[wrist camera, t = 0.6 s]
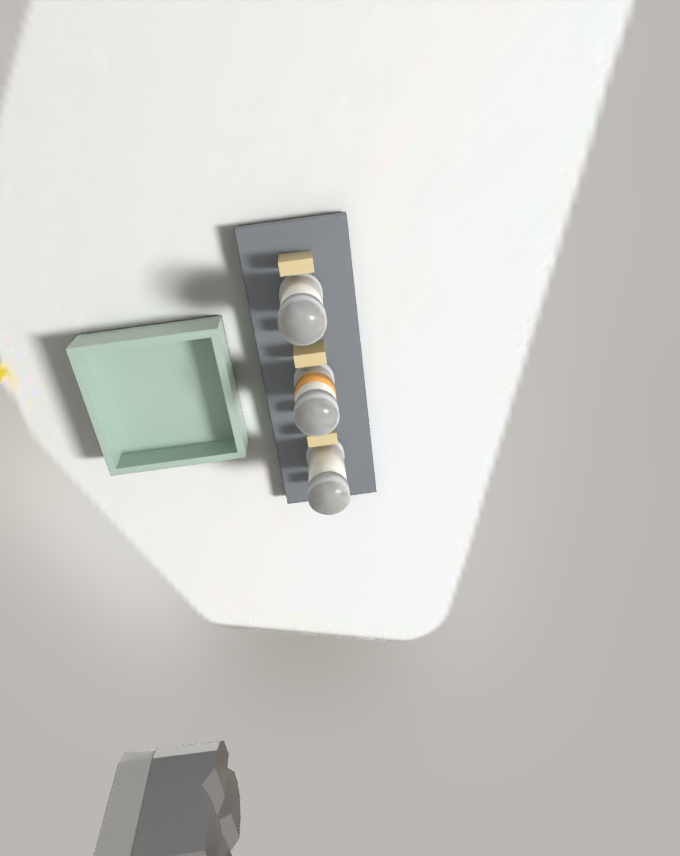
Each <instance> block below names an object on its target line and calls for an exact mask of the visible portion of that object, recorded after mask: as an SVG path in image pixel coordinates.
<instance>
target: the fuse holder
mask: <svg viewBox="0 0 680 856" xmlns="http://www.w3.org/2000/svg"><path fill="white" fill-rule="evenodd" d="M235 235H236V240H237V245H238V251H239V256H240V261H241V266H242V271H243V276H244V281H245V287H246V292H247V297H248V302H249V307H250V312H251V317H252V323H253V328H254V333H255V338H256V343H257V348H258V353H259V359H260V364H261V369H262V374H263V379H264V384H265V389H266V395H267V400H268V405H269V410H270V415H271V420H272V425H273V431H274V436H275V441H276V446H277V451H278V456H279V461H280V467H281V472H282V477H283V482H284V487H285V492H286V497H287V503H288V504H290V503H298V502H305V501H308V484H309V477H308V463H307V458H306V448H307V445H308V447H317V446H324V445H331V444H338V439H339V440H340V441H341V442H342V444H343V448H344V455H345V458H344V464H345V471H346V478H347V481H348V484H349V490H350V495H356V494H364V493H371V492H376V483H375V474H374V465H373V455H372V446H371V437H370V428H369V418H368V409H367V400H366V391H365V381H364V372H363V363H362V353H361V344H360V335H359V326H358V316H357V307H356V298H355V288H354V279H353V270H352V261H351V251H350V242H349V233H348V224H347V215H346V212H340V213H332V214H325V215H318V216H310V217H303V218H295V219H288V220H280V221H273V222H266V223H258V224H251V225H243V226H236V227H235ZM305 273H313V274H314V275H315V276H316V277H317V278H318V279H319V281H320V282H321V285H322V291H323V306H324V308H325V311H326V317H327V326H326V330H325V332H324V334H323V335H322V337H321V338H320V339H319V340H318V341H316V342H314V343H312V344H309V345H303V346H302V345H295V344H292V343H290V342H289V341H287V340H286V339H285V338H284V337H283V336H282V335H281V333H280V331H279V328H278V323H277V322H278V310H279V307H280V299H279V288H280V284H281V281H282V280H283V278H284V277H285V276H290V275H298V274H305ZM327 363H329V365H330V366H331V367H332V370H333V373H334V381H335V383H334V386H335V392H336V400H337V403H338V408H339V416H340V417H339V422H338V424H337V426H336V428H335V429H334V430H333V431H332V432H330V433H328V434H326V435H324V436H318V437H314V436H309V435H306V434H304V433H303V432H301V431H300V430H299V429H298V427H297V426H296V424H295V421H294V405H295V395H294V390H295V387H294V371H295V368H302V367H309V366H317V365H324V364H327ZM337 438H338V439H337Z"/></svg>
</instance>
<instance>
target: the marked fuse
mask: <svg viewBox="0 0 680 856" xmlns="http://www.w3.org/2000/svg"><path fill="white" fill-rule="evenodd" d="M334 383H335V381H334V373H333V370H332V367H331V366H330V365H329V363H327V364H324V365H317V366H309V367H302V368H295V371H294V387H295V390H294V395H295V405H294V421H295V424H296V426H297V427H298V429H299V430H300V431H301V432H303V433H304V434H306V435H309V436H314V437H318V436H324V435H326V434H328V433H330V432H332V431H333V430H334V429H335V428H336V426H337V424H338V422H339V417H340V416H339V408H338V403H337V400H336V392H335V386H334Z"/></svg>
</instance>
